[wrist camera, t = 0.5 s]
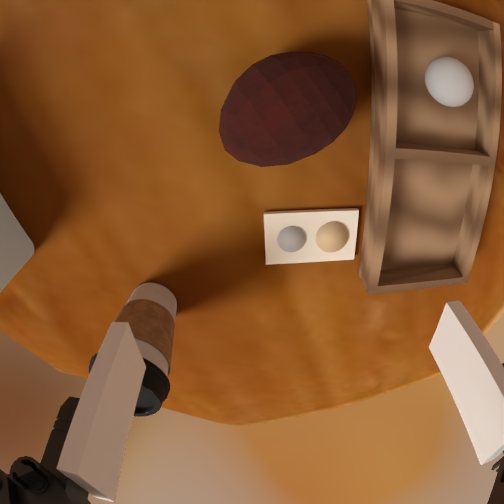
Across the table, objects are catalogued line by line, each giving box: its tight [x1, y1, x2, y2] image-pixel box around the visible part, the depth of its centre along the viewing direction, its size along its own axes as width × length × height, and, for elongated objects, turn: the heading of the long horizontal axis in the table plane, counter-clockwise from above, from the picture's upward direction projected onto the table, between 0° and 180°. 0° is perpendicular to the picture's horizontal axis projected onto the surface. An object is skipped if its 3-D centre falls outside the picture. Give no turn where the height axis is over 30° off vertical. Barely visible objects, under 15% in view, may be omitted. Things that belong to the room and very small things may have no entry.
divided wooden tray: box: [358, 0, 502, 294], centre depth 28 cm, size 31×14×4 cm, turn 3°
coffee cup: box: [89, 283, 177, 416], centre depth 33 cm, size 8×8×15 cm
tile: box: [264, 208, 359, 265], centre depth 34 cm, size 6×10×1 cm, turn 93°
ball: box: [425, 57, 474, 107], centre depth 23 cm, size 5×5×5 cm
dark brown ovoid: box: [219, 52, 356, 167], centre depth 24 cm, size 9×12×9 cm
